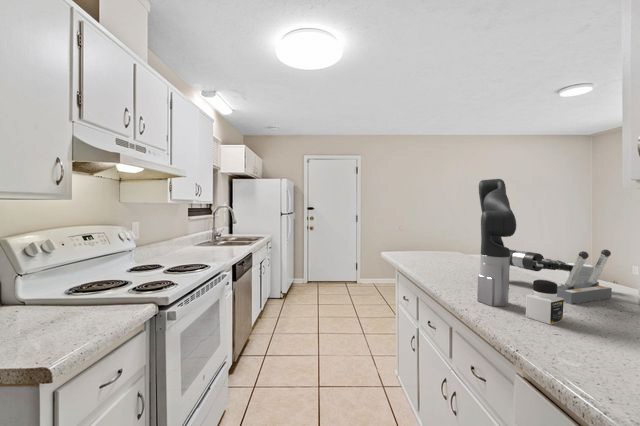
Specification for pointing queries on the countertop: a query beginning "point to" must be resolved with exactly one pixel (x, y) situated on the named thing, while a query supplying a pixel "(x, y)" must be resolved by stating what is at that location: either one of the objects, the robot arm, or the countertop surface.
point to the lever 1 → (576, 269)
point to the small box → (583, 273)
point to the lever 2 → (599, 266)
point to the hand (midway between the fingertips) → (573, 268)
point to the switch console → (583, 292)
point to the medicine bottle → (544, 303)
